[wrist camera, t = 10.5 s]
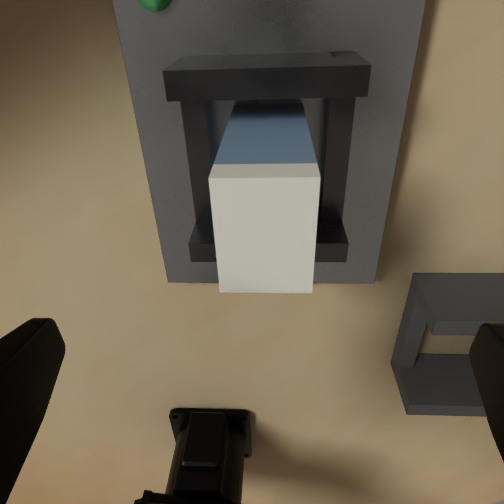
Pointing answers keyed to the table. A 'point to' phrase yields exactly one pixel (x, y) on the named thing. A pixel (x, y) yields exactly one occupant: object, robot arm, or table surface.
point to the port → (271, 92)
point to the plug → (265, 201)
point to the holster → (444, 323)
